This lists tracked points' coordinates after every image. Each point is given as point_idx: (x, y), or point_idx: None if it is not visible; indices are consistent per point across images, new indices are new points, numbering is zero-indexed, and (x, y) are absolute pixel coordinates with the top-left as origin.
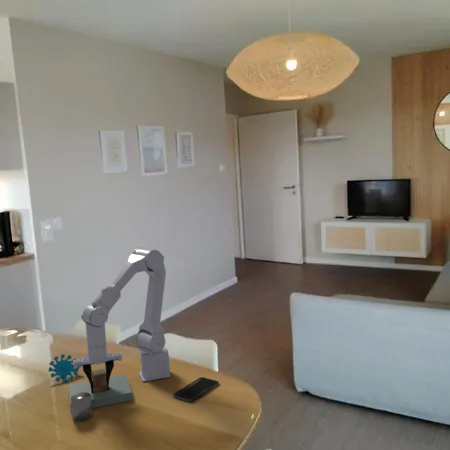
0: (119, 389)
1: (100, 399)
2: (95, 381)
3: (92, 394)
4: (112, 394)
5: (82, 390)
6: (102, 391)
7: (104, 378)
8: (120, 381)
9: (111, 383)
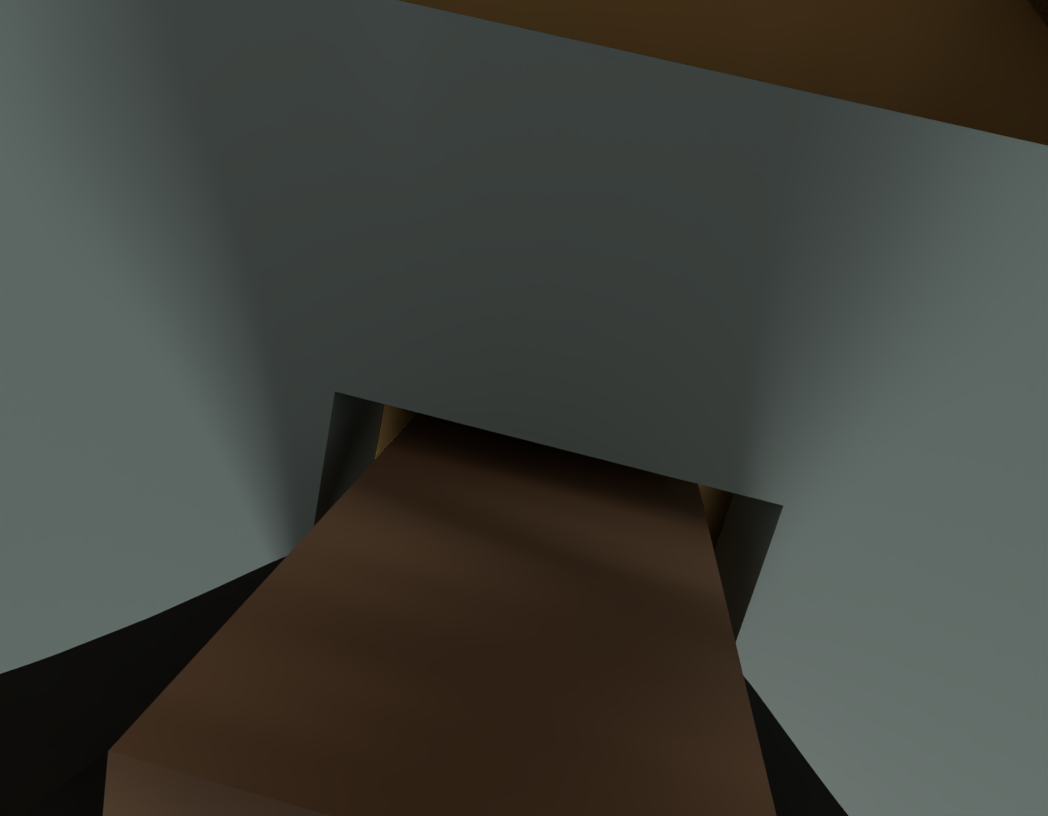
0: (106, 270)
1: (692, 67)
2: (663, 694)
3: (785, 445)
4: (332, 96)
5: (897, 801)
6: (501, 471)
7: (301, 637)
8: (14, 656)
9: None
